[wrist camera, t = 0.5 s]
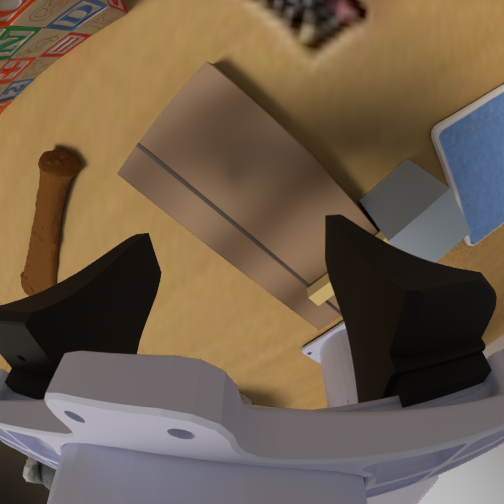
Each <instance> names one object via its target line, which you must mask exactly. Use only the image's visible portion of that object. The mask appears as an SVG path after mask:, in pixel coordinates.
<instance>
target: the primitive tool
mask: <svg viewBox="0 0 504 504" xmlns="http://www.w3.org/2000/svg"><path fill="white" fill-rule="evenodd" d="M38 166H39V168H40V181H39V189H38V193H37V200H36V212H35V218H34V222H33V226H32V232H31V238H30V243H29V250H28V256H27V261H26V265H25V269H24V273H22V274H21V284H22V288H23V289H24V292H25V293H26V294H27V295H29V296H32V295H34V294H37V293H39V292H41V291H44V290H46V289H48V288H50V287H52V286H54V285H56V284H57V267H58V264H57V255H58V246H59V235H60V223H61V217H62V212H63V205H64V200H65V198H66V192H67V190H68V186H69V183H70V180H71V178H72V177H73V176H75V175H76V174H77V173H78V172H79V171H80V162H79V160H78V159H77V158H76V157H75V156H74V155H71V154H70V153H69V152H68V151H64V150H62V149H54V150H52V151H47V152H44V153H43V154H42V156H41V157H40V159H39V163H38Z"/></svg>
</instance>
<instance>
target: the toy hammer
mask: <svg viewBox="0 0 504 504" xmlns="http://www.w3.org/2000/svg"><path fill="white" fill-rule="evenodd" d="M359 201H360V202H361V204H362V205H363V206H364V208H365V209H366V211H367V212H368V213H369V215H370V216H371V218H372V219H373V220H374V222H375V223H376V225H377V226H378V228H379V229H380V230H381V231H380V232H379V233H377V234H376V235H375V236H376V237H378V238H379V239H381V240H383V241H385V242H386V243H388V244H390V245H392V246H394V247H396V248H398V249H400V250H403V251H405V252H407V253H409V254H412V255H414V256H417V257H420V258H423V259H425V260H428V261H431V262H434V263H436V262H437V261H439V260H440V259H441V258H442V257H443V256H445V255H446V254H447V253H448V252H449V251H450V250H452V249H453V248H454V247H455V246H456V245H457V244H458V243H460V242H461V241H462V240H463V239H464V238H465V237H466V236H467V235H469V234H470V233H471V231H470V229H469V227H468V224H467V222H466V220H465V218H464V216H463V213H462V211H461V209H460V207H459V205H458V203H457V201H456V199H455V197H454V195H453V193H452V191H451V189H450V188H449V187H448V186H446V185H445V184H444V183H442V182H441V181H439V180H438V179H437V178H435V177H434V176H432V175H431V174H430V173H428V172H427V171H425V170H424V169H422V168H421V167H419V166H418V165H416V164H415V163H413V162H412V161H410V160H409V159H406V160H405V161H404V162H402V163H401V164H400V165H399V166H398V167H397V168H396V169H395V170H393V171H392V172H391V173H390V174H389V175H388V176H387V177H385V178H384V179H383V180H382V181H381V182H380V183H378V184H377V185H376V186H375V187H374V188H373V189H371V190H370V191H369V192H368V193H367V194H366V195H365V196H363V197H362V198H361V199H360V200H359ZM307 294H308V298H309V299H310V300H312V301H313V302H314V303H315V304H317V305H318V306H319V305H321V304H322V303H323V302H325V301H326V300H328V299H329V298H330V297H332V296H333V295H335V294H334V291H333V289H332V286H331V283H330V280H329V276H328V273H327V274H326V275H324V276H323V277H322V278H320V279H319V280H318V281H316V282H315V283H314V284H312V285H311V286H310V287H308V288H307Z"/></svg>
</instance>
